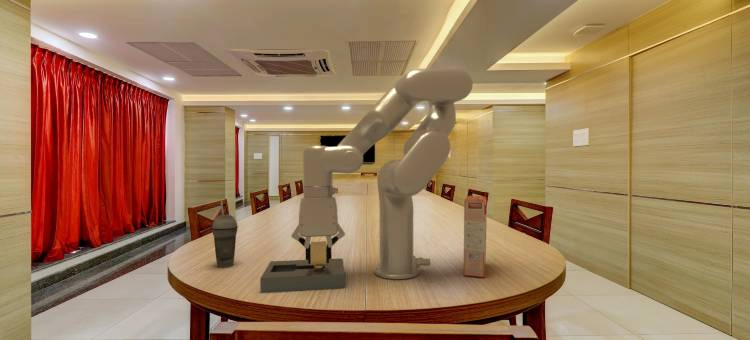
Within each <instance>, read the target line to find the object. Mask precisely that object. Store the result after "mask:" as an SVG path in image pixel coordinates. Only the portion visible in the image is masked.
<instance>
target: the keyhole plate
mask: <svg viewBox="0 0 750 340" xmlns="http://www.w3.org/2000/svg"><path fill="white" fill-rule="evenodd" d="M343 259H344V258H332V259H329V263H326V264H323V268H318V269H314V265H311V263H310V264H308V260H306V259H295V260H294V259H292V260H274V261H273V260H272V261H271V260H270V262H269V263H268V265H267V267H266V268H265V270H264V271H263V273H262V275H261V276H260V278H259V279H260V281H259V282H260V283H259V284H260V285H259V286H260V288H259V289H260V293H278V292H280V293H281V292H296V291H297V292H298V291H313V290H314V291H315V290H317V291H320V290H332V289H333V290H334V289H335V290H336V289H337V290H339V289H345V287H346V276H345V275H346V273H345V267H344V260H343Z"/></svg>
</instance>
